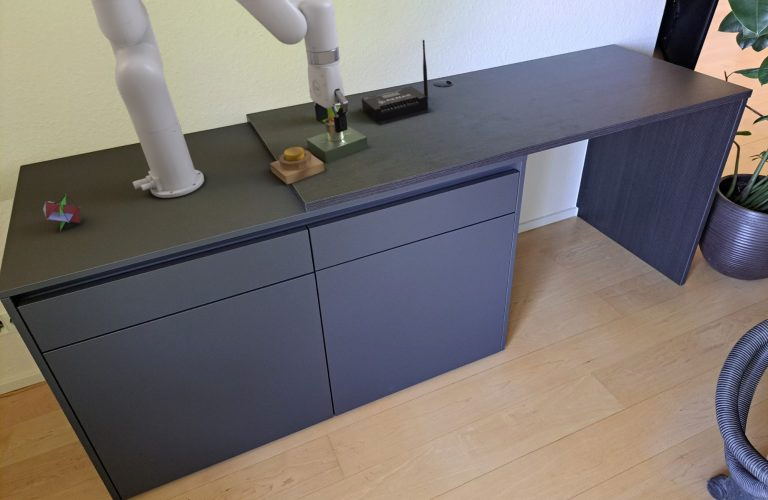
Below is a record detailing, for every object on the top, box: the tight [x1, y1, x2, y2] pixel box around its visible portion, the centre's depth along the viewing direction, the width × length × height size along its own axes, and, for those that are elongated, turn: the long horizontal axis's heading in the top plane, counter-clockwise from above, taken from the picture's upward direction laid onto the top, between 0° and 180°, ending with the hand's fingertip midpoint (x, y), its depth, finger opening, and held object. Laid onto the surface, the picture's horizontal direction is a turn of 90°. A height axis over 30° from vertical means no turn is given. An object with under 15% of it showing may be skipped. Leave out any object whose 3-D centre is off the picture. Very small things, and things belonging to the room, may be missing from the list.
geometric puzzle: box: [42, 194, 81, 232], centre depth 122 cm, size 7×7×8 cm
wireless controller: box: [360, 39, 431, 126], centre depth 156 cm, size 20×14×17 cm
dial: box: [324, 117, 345, 141], centre depth 140 cm, size 4×4×5 cm
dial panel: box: [306, 125, 369, 163], centre depth 142 cm, size 12×10×3 cm
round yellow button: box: [283, 146, 305, 161], centre depth 132 cm, size 5×5×2 cm
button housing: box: [269, 149, 325, 185], centre depth 134 cm, size 10×9×4 cm
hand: (331, 125), depth 139 cm, fingers open, 9 cm apart
